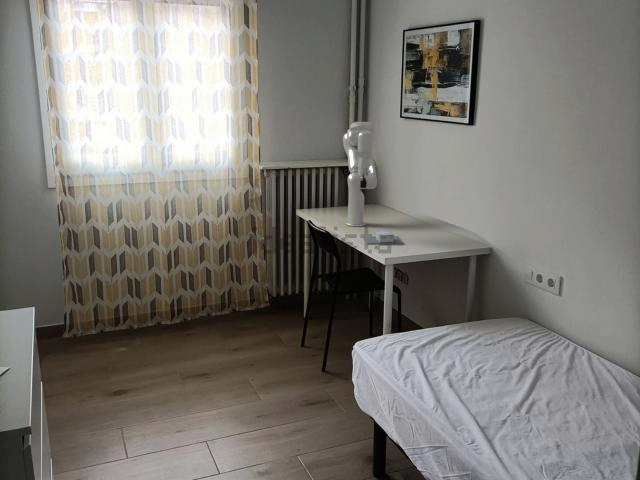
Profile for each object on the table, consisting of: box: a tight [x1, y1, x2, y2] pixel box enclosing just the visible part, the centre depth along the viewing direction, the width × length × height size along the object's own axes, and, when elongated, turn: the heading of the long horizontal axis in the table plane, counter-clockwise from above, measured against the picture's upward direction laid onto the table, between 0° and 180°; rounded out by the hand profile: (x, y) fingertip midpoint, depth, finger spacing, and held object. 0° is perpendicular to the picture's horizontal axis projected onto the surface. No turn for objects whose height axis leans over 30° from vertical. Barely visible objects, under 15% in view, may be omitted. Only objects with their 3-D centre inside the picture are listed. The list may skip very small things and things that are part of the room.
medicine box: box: [375, 230, 395, 243], centre depth 328 cm, size 8×4×9 cm
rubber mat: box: [363, 235, 405, 245], centre depth 331 cm, size 15×20×1 cm
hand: (363, 187), depth 337 cm, fingers closed
